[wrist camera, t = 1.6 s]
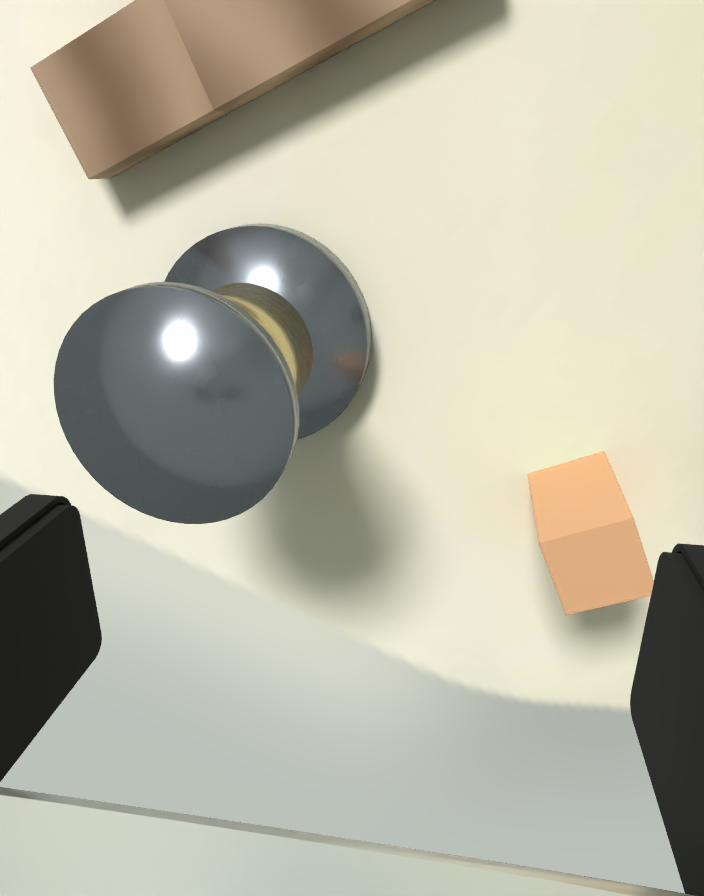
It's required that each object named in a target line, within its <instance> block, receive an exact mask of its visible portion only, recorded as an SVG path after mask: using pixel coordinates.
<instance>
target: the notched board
mask: <svg viewBox="0 0 704 896" xmlns="http://www.w3.org/2000/svg"><path fill="white" fill-rule="evenodd" d="M433 1H434V0H135V1H134V2H132V3H130V4H129V5H127V6H126V7H124V8H123V9H121V10H120V11H118V12H116V13H115V14H113V15H112V16H110V17H109V18H107V19H106V20H104V21H102V22H101V23H99V24H98V25H96V26H95V27H93V28H92V29H90V30H88V31H87V32H85V33H84V34H82V35H81V36H79V37H78V38H76V39H74V40H73V41H71V42H70V43H68V44H67V45H65V46H64V47H62V48H61V49H59V50H57V51H56V52H54V53H53V54H51V55H50V56H48V57H47V58H45V59H43V60H42V61H40V62H39V63H37V64H36V65H34V66H33V67H31V70H32V72H33V74H34V76H35V78H36V80H37V82H38V83H39V85H40V87H41V89H42V91H43V93H44V95H45V97H46V99H47V101H48V103H49V104H50V106H51V108H52V110H53V112H54V114H55V116H56V118H57V120H58V122H59V124H60V125H61V127H62V129H63V131H64V133H65V135H66V137H67V139H68V141H69V143H70V145H71V147H72V148H73V150H74V152H75V154H76V156H77V158H78V160H79V162H80V164H81V166H82V168H83V169H84V171H85V173H86V175H87V177H88V179H101V178H111V177H113V176H115V175H117V174H118V173H120V172H122V171H124V170H126V169H128V168H129V167H131V166H133V165H135V164H137V163H139V162H140V161H142V160H144V159H146V158H148V157H150V156H151V155H153V154H155V153H157V152H159V151H160V150H162V149H164V148H166V147H168V146H170V145H171V144H173V143H175V142H177V141H179V140H181V139H182V138H184V137H186V136H188V135H190V134H192V133H193V132H195V131H197V130H199V129H201V128H202V127H204V126H206V125H208V124H210V123H212V122H213V121H215V120H217V119H219V118H221V117H223V116H224V115H226V114H228V113H230V112H232V111H234V110H235V109H237V108H239V107H241V106H243V105H244V104H246V103H248V102H250V101H252V100H254V99H255V98H257V97H259V96H261V95H263V94H265V93H266V92H268V91H270V90H272V89H274V88H276V87H277V86H279V85H281V84H283V83H285V82H287V81H288V80H290V79H292V78H294V77H296V76H297V75H299V74H301V73H303V72H305V71H307V70H308V69H310V68H312V67H314V66H316V65H318V64H319V63H321V62H323V61H325V60H327V59H329V58H330V57H332V56H334V55H336V54H338V53H339V52H341V51H343V50H345V49H347V48H349V47H350V46H352V45H354V44H356V43H358V42H360V41H361V40H363V39H365V38H367V37H369V36H371V35H372V34H374V33H376V32H378V31H380V30H381V29H383V28H385V27H387V26H389V25H391V24H392V23H394V22H396V21H398V20H400V19H402V18H403V17H405V16H407V15H409V14H411V13H413V12H414V11H416V10H418V9H420V8H422V7H423V6H425V5H427V4H429V3H431V2H433Z"/></svg>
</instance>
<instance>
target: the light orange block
mask: <svg viewBox="0 0 704 896" xmlns="http://www.w3.org/2000/svg"><path fill="white" fill-rule="evenodd" d="M528 478H529V485H530V491H531V497H532V503H533V510H534V516H535V522H536V528H537V534H538V541H539V545H540V547H541V550H542V553H543V555H544V558H545V561H546V563H547V566H548V568H549V571H550V574H551V576H552V579H553V582H554V584H555V587H556V590H557V592H558V595H559V598H560V600H561V603H562V606H563V608H564V611H565V613H566V615H570V614H574V613H578V612H583V611H587V610H591V609H596V608H600V607H605V606H609V605H613V604H618V603H622V602H627V601H631V600H635V599H640V598H644V597H649V596H651V594H652V589H653V584H654V580H653V577H652V574H651V571H650V568H649V565H648V562H647V558H646V555H645V552H644V549H643V546H642V543H641V540H640V537H639V533H638V530H637V527H636V524H635V521H634V518H633V516H632V513H631V511H630V509H629V506H628V504H627V502H626V500H625V497H624V495H623V493H622V490H621V488H620V486H619V484H618V481H617V479H616V477H615V474H614V472H613V470H612V467H611V465H610V463H609V461H608V458H607V456H606V454H605V451H603V452H600V453H596V454H593V455H589V456H586V457H583V458H579V459H576V460H573V461H569V462H566V463H563V464H559V465H556V466H553V467H549V468H546V469H543V470H539V471H536V472H533V473H529V474H528Z"/></svg>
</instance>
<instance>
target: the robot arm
mask: <svg viewBox="0 0 704 896" xmlns="http://www.w3.org/2000/svg"><path fill="white" fill-rule="evenodd" d="M101 640H102V637H101V629H100V623H99V618H98V612H97V607H96V601H95V596H94V591H93V585H92V579H91V574H90V568H89V563H88V557H87V552H86V546H85V541H84V535H83V530H82V524H81V519H80V514H79V511H78V509H77V508H76V507H75V506H71V503H70V502H69V500H68V499H67V498H65V497H63V496H50V495H37V494H30V495H28V496H25V497H24V498H23V499H21V500H20V501H19V502H17V503H16V504H14V505H13V506H12V507H10V508H9V509H8V510H6V511H5V512H4V513H2V514H1V515H0V782H1V780H2V779H3V778H4V776H5V775H6V774H7V772H8V771H9V770H10V768H11V767H12V766H13V764H14V763H15V762H16V761H17V759H18V758H19V757H20V756H21V754H22V753H23V752H24V750H25V749H26V748H27V746H28V745H29V744H30V743H31V741H32V740H33V739H34V737H35V736H36V735H37V733H38V732H39V731H40V730H41V728H42V727H43V726H44V724H45V723H46V722H47V720H48V719H49V718H50V716H51V715H52V714H53V712H54V711H55V710H56V709H57V707H58V706H59V705H60V704H61V702H62V701H63V700H64V698H65V697H66V696H67V694H68V693H69V692H70V691H71V689H72V688H73V687H74V685H75V684H76V683H77V681H78V680H79V679H80V677H81V676H82V675H83V674H84V672H85V671H86V669H87V668H88V667H89V666H90V664H91V663H92V662H93V661H94V659H95V658H96V656H97V655H98V652H99V650H100V646H101ZM630 706H631V716H632V720H633V723H634V727H635V730H636V733H637V736H638V740H639V743H640V746H641V750H642V753H643V756H644V759H645V763H646V766H647V769H648V772H649V776H650V779H651V782H652V786H653V789H654V792H655V795H656V799H657V802H658V805H659V808H660V812H661V815H662V819H663V822H664V825H665V828H666V832H667V835H668V838H669V842H670V845H671V848H672V851H673V854H674V858H675V861H676V864H677V868H678V871H679V874H680V878H681V881H682V884H683V888H684V891H685V894H684V893H678V892H673V891H667V890H662V889H656V888H650V887H645V886H639V885H633V884H627V883H621V882H615V881H609V880H603V879H597V878H591V877H585V876H580V875H574V874H568V873H562V872H556V871H551V870H544V869H538V868H532V867H526V866H520V865H513V864H507V863H500V862H494V861H487V860H481V859H475V858H469V857H462V856H455V855H449V854H443V853H436V852H430V851H424V850H417V849H410V848H404V847H398V846H391V845H385V844H378V843H372V842H366V841H359V840H352V839H346V838H340V837H334V836H327V835H321V834H314V833H307V832H301V831H294V830H288V829H281V828H274V827H268V826H261V825H254V824H248V823H241V822H234V821H228V820H221V819H214V818H208V817H201V816H194V815H188V814H180V813H174V812H168V811H161V810H154V809H147V808H141V807H133V806H127V805H120V804H113V803H107V802H100V801H93V800H87V799H80V798H73V797H66V796H58V795H52V794H45V793H37V792H31V791H23V790H16V789H10V788H2V787H0V896H704V546H703V545H690V544H677V545H676V546H675V547H674V549H673V551H672V553H669V552H663V553H662V554H661V555H660V557H659V560H658V564H657V569H656V574H655V579H654V584H653V589H652V594H651V598H650V603H649V608H648V613H647V618H646V623H645V627H644V632H643V637H642V642H641V647H640V652H639V657H638V661H637V666H636V671H635V676H634V681H633V686H632V690H631V699H630Z"/></svg>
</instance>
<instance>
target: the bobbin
mask: <svg viewBox="0 0 704 896" xmlns="http://www.w3.org/2000/svg"><path fill="white" fill-rule="evenodd" d="M371 337H372V336H371V323H370V318H369V313H368V308H367V306H366V303H365V300H364V297H363V294H362V292H361V290H360V288H359V286H358V284H357V282H356V280H355V279H354V277H353V276H352V274H351V273H350V271H349V270H348V269H347V267H346V266H345V265H344V264H343V263H342V262H341V260H340V259H339V258H338V257H337V256H336V255H335V254H333V253H332V252H331V251H330V250H329V249H328V248H327V247H325V246H324V245H322V244H321V243H319V242H318V241H317V240H315V239H313V238H311V237H309V236H307V235H306V234H304V233H302V232H299V231H296V230H293V229H290V228H287V227H283V226H278V225H271V224H250V225H243V226H238V227H234V228H230V229H226V230H223V231H220V232H217V233H215V234H212V235H210V236H207V237H206V238H204V239H202V240H201V241H199V242H197V243H196V244H194V245H193V246H192V247H191V248H189V249H188V250H187V251H186V252H185V253H184V254H183V255H182V256H181V257H180V258H179V259H178V260H177V261H176V263H175V264H174V266H173V267H172V269H171V270H170V272H169V273H168V275H167V277H166V279H165V282H155V283H147V284H142V285H138V286H134V287H131V288H128V289H126V290H123V291H120V292H118V293H115V294H112V295H110V296H107V297H105V298H104V299H102V300H100V301H98V302H97V303H95V304H93V305H92V306H91V307H90V308H88V309H87V310H86V311H85V312H84V313H82V314H81V316H80V317H79V318H78V319H77V320H76V321H75V322H74V324H73V325H72V326H71V328H70V330H69V331H68V333H67V334H66V336H65V338H64V340H63V343H62V345H61V347H60V350H59V353H58V357H57V361H56V365H55V374H54V396H55V403H56V409H57V413H58V417H59V420H60V424H61V426H62V429H63V431H64V434H65V436H66V439H67V441H68V443H69V444H70V446H71V448H72V450H73V452H74V453H75V455H76V456H77V458H78V459H79V461H80V462H81V464H82V465H83V466H84V468H85V469H86V470H87V471H88V472H89V474H90V475H91V476H92V477H93V478H94V479H95V480H96V481H97V482H98V483H99V484H100V485H101V486H102V487H103V488H104V489H106V490H107V491H108V492H109V493H111V494H112V495H113V496H115V497H116V498H117V499H119V500H120V501H122V502H124V503H125V504H127V505H128V506H130V507H132V508H134V509H136V510H138V511H140V512H142V513H144V514H147V515H150V516H153V517H155V518H158V519H162V520H166V521H170V522H177V523H184V524H204V523H213V522H217V521H221V520H226V519H229V518H231V517H234V516H236V515H239V514H241V513H243V512H244V511H246V510H248V509H250V508H251V507H253V506H254V505H255V504H257V503H258V502H259V501H260V500H262V499H263V498H264V497H265V496H266V494H267V493H268V492H269V491H270V490H271V489H272V488H273V486H274V485H275V483H276V482H277V480H278V479H279V477H280V476H281V474H282V473H283V471H284V469H285V468H286V466H287V464H288V462H289V460H290V458H291V456H292V454H293V451H294V448H295V444H296V441H297V439H299V438H303V437H306V436H308V435H310V434H313V433H315V432H317V431H319V430H320V429H322V428H324V427H325V426H327V425H328V424H329V423H331V422H332V421H333V420H334V419H336V418H337V417H338V416H339V415H340V414H341V412H342V411H343V410H344V409H345V408H346V407H347V405H348V404H349V402H350V401H351V400H352V398H353V397H354V395H355V393H356V391H357V389H358V387H359V385H360V383H361V381H362V379H363V377H364V375H365V372H366V369H367V366H368V362H369V357H370V352H371Z"/></svg>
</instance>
